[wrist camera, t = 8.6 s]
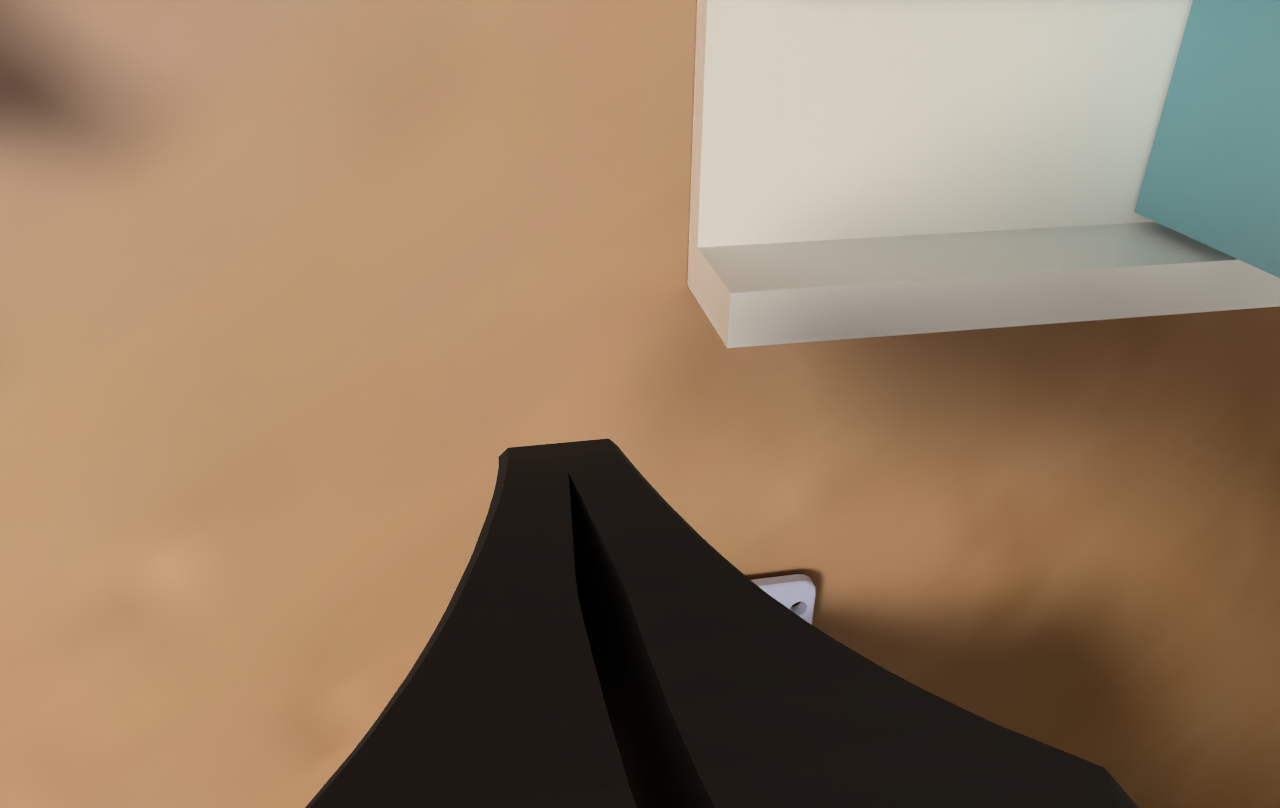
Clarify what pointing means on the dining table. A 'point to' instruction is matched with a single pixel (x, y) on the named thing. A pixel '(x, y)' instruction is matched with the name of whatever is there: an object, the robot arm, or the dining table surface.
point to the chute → (937, 169)
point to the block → (1222, 134)
